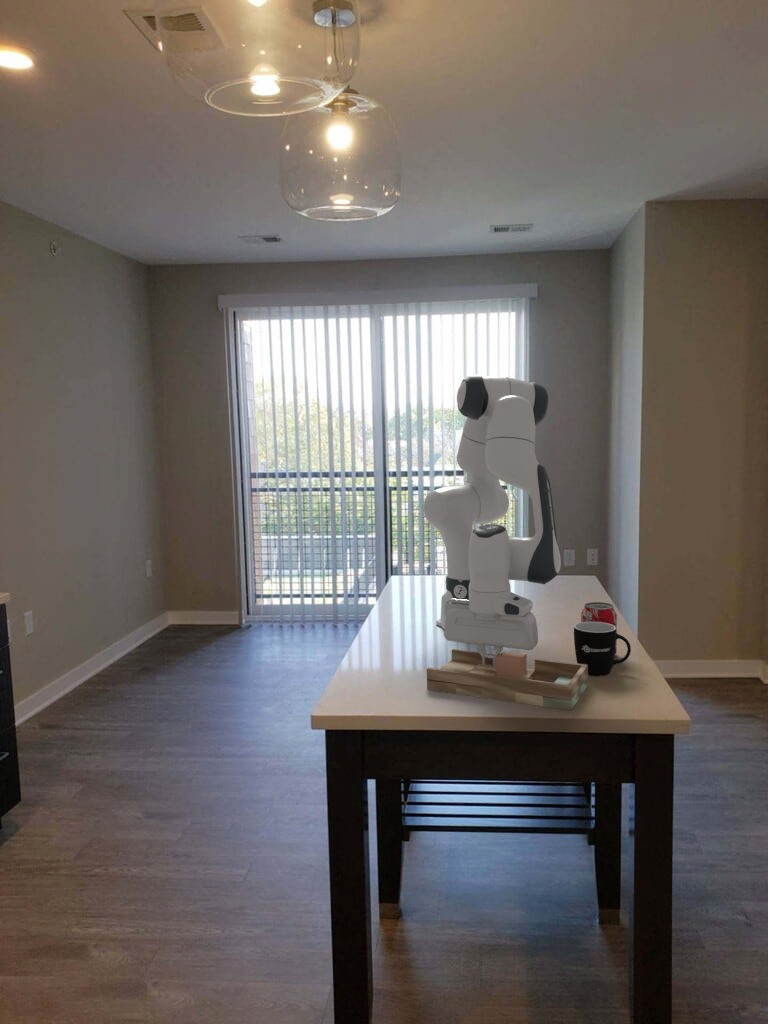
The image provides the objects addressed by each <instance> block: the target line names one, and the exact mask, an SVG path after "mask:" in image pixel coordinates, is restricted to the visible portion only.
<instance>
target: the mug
mask: <svg viewBox="0 0 768 1024" xmlns="http://www.w3.org/2000/svg"><path fill="white" fill-rule="evenodd" d="M618 639H619V640H622V641H623V642H624V643H625V644H626V647H627V650H626V651H627V652H626V654H625V655H624V656H623V657H622V658H619V659H615V655H616V654H615V647H616V640H617V641H618ZM573 640H574V641H573V642H574V651H575V652H574V653H575V659H576V663H578V664H586V665H588V676H590V677H604V676H607V675H609V674H610V673H611V671H612V669H613V667H614V666H615V665H619V664H622V663H624V662H626V660H628V659H629V657H630V656H631V652H632V651H631V650H632V648H631V647H632V646H631V644H630V641H629V640H628V638H626V637H625V636H623V635H621V634H619V633H616V627H615V626H614V625H611V624H608V623H603V622H581V621H580V622H578V623H575V624H574V626H573Z"/></svg>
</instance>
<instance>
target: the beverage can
mask: <svg viewBox="0 0 768 1024" xmlns="http://www.w3.org/2000/svg"><path fill="white" fill-rule="evenodd" d="M614 608H615V607H614V605H613V604H612V603H610V602H609V603H608V602H600V601H593V602H592V601H591V602H587V603H585V604H584V607H583V609H582V611H581V613H580V614H581V615H580V617H581V618H580V620H581V621H580V623H581V622H603V623H608V624H611V625H614V626H615V627H616V633H617V631H618V630H617V629H618V627H617V626H618V622H617V621H618V614H617V612H616V610H615V609H614ZM617 634H618V633H617ZM617 641H618V639H617V640H616V647H615V655H616V654H617V645H618V644H617Z"/></svg>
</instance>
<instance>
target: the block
mask: <svg viewBox="0 0 768 1024" xmlns="http://www.w3.org/2000/svg"><path fill="white" fill-rule="evenodd" d="M527 661H528V660H527V653H526V652H519V651H518V652H517V651H508V650H502V651H501V653H500V655H498V656H497V657H496V668H497V676H502V677H510V678H517V679H520V678H521V677H522V676H523V675H524V674H525V673H526V672H527V665H528V664H527Z"/></svg>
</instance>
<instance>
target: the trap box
mask: <svg viewBox="0 0 768 1024" xmlns="http://www.w3.org/2000/svg"><path fill="white" fill-rule="evenodd" d="M487 654H488V655H491V656H494V654H495V653H492V652H491V653H489V652H487ZM500 654H501V653H500ZM500 654H499V655H500ZM588 681H589V675H588V665H586V664H578V663H577V662H569V661H558V660H550V659H543V658H542V659H541V658H535V659H534V668H527V672H526V673H525V674H524V675H523V676H522V677H521V678H520V679H517V678H510V677H502V676H497V668H496V666H491V665H483V664H482V656H481V655H480V653H479V651H475V650H474V651H472V650H466V649H465V650H464V649H458V648H457V649H456V648H455V649H454V648H453V649H451V659H450V660H449V661H448V662H446V664H444V665H443V666H442V667H441V668H437V667H427V668H426V690H427V691H435V692H440V693H441V692H442V693H447V694H448V693H449V694H457V695H463V696H468V697H469V696H470V697H478V698H483V699H490V700H496V701H502V702H503V701H504V702H509V703H510V702H511V703H519V704H524V705H532V706H538V707H546V708H552V709H559V710H565V711H567V710H568V711H572V710H573V709H574V707H575V706H576V704H577V703H578V701H579V699H580V698H581V696H582V695H583V694H584V692H585V690H586V689H587V688H588V686H589V683H588Z"/></svg>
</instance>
